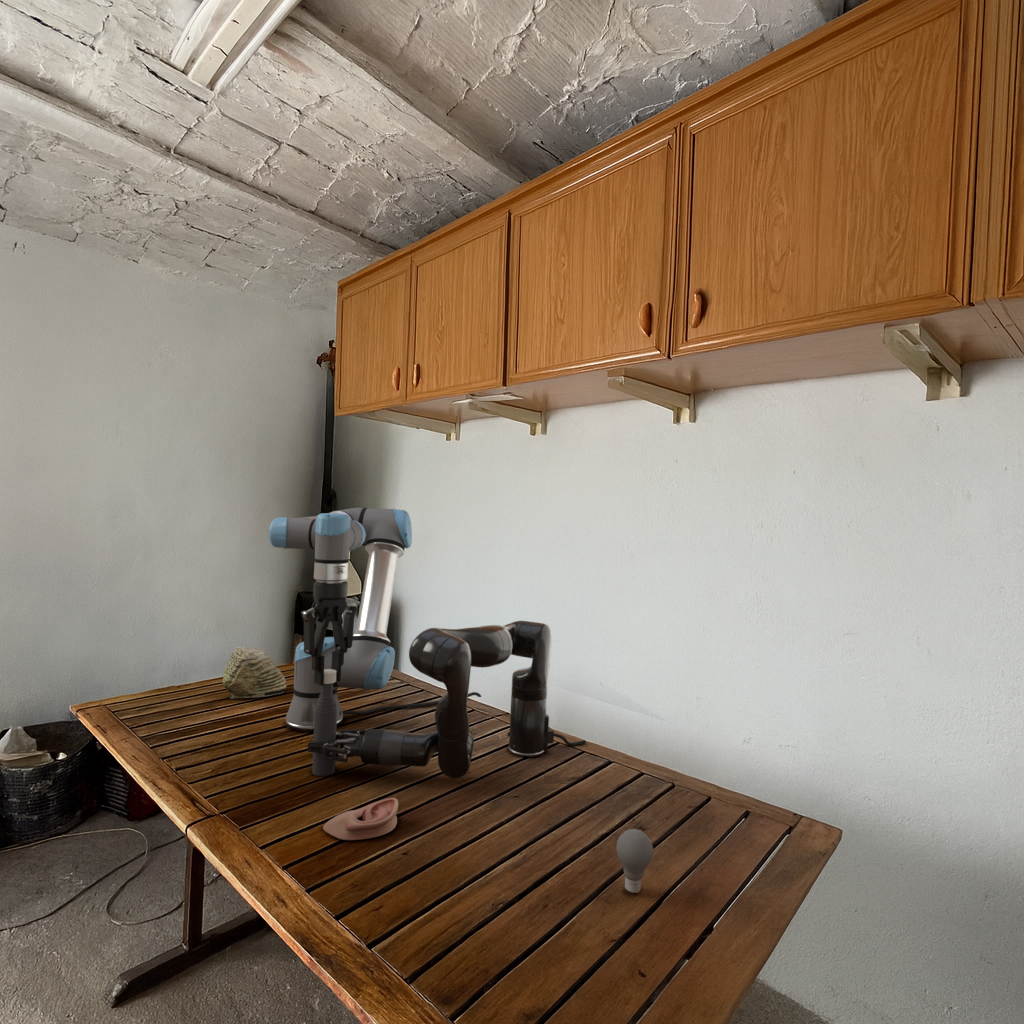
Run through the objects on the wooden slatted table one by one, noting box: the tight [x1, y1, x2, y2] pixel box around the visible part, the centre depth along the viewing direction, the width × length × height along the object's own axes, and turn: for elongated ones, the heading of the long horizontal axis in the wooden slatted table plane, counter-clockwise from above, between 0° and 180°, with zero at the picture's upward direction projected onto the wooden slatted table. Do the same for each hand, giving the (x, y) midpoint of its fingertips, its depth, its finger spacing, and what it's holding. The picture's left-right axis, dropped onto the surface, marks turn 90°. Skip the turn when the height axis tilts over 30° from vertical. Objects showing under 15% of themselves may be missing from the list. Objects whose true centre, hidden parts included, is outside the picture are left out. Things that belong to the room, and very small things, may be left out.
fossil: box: [222, 646, 288, 699], centre depth 198 cm, size 9×18×15 cm, turn 132°
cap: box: [324, 669, 337, 684], centre depth 146 cm, size 4×4×2 cm
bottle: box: [311, 683, 338, 777], centre depth 146 cm, size 5×5×21 cm
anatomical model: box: [322, 797, 399, 841], centre depth 122 cm, size 13×4×12 cm
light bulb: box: [615, 828, 654, 894], centre depth 106 cm, size 6×6×10 cm
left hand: (327, 681), depth 146 cm, fingers closed on cap, 4 cm apart
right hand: (313, 741), depth 146 cm, fingers closed on bottle, 5 cm apart
